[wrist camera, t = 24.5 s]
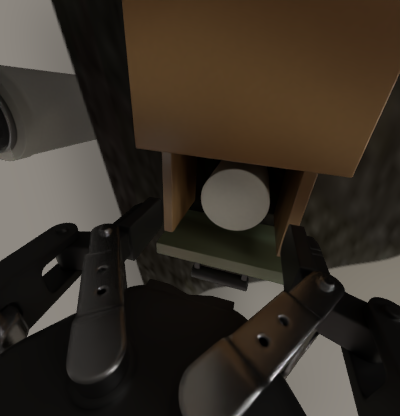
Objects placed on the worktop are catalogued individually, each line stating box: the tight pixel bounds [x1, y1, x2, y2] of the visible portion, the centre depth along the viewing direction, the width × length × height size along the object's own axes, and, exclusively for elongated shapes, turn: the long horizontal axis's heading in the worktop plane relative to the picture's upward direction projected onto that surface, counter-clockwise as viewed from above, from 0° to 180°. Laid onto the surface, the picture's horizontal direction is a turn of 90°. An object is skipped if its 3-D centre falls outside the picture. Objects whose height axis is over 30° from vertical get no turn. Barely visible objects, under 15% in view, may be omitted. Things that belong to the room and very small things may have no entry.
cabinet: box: [122, 0, 400, 177], centre depth 12 cm, size 15×13×10 cm
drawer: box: [156, 152, 318, 291], centre depth 18 cm, size 18×11×8 cm, turn 176°
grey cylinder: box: [201, 160, 270, 231], centre depth 18 cm, size 5×5×6 cm
